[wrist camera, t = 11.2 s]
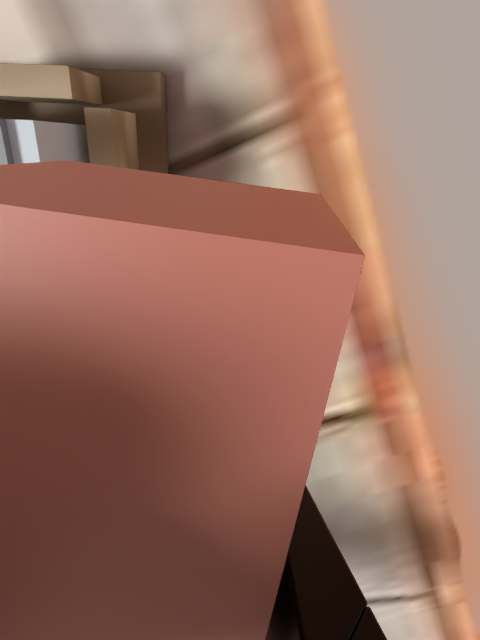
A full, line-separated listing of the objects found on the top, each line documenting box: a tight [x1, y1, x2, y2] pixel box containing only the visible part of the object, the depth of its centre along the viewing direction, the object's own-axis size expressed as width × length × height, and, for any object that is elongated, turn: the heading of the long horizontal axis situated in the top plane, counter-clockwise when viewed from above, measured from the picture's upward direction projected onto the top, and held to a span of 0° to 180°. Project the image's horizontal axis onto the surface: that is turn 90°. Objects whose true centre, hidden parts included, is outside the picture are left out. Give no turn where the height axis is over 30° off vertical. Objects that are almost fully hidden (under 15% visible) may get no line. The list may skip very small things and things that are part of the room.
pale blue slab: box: [0, 119, 90, 165], centre depth 17 cm, size 12×5×5 cm, turn 178°
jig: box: [0, 63, 169, 174], centre depth 18 cm, size 16×10×3 cm, turn 177°
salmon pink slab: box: [0, 160, 365, 640], centre depth 8 cm, size 12×5×4 cm, turn 173°
